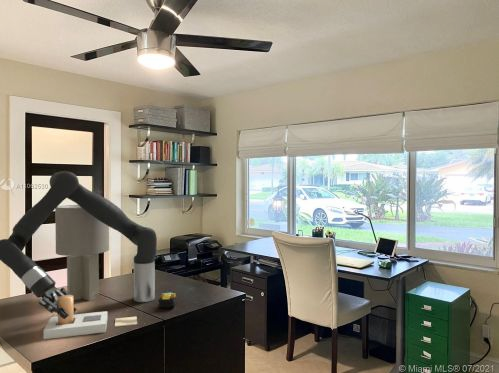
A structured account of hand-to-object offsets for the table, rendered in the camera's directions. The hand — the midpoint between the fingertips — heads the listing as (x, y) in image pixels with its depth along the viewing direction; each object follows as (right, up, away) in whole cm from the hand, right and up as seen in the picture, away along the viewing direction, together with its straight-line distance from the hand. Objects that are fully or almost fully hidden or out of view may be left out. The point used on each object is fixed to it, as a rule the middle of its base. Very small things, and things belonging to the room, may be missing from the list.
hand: (70, 314), depth 140 cm
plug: (-2, -6, 0) cm, 6 cm away
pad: (+18, -6, +8) cm, 20 cm away
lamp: (-12, -5, +39) cm, 41 cm away
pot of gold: (+30, -6, +27) cm, 41 cm away
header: (+2, -6, +1) cm, 6 cm away
